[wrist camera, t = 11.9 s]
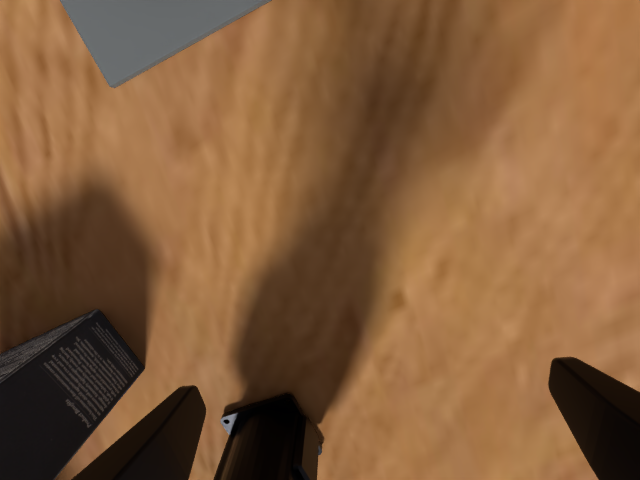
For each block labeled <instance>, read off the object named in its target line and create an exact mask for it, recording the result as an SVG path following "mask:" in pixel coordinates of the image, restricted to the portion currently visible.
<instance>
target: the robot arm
mask: <svg viewBox="0 0 640 480" xmlns="http://www.w3.org/2000/svg"><path fill="white" fill-rule="evenodd" d="M548 385H549V390H550V393H551V395H552V397H553V399H554V400H555V402H556V404H557V406H558V408H559V410H560V412H561V413H562V415H563V417H564V419H565V421H566V423H567V425H568V426H569V428H570V430H571V432H572V434H573V436H574V438H575V439H576V441H577V443H578V445H579V447H580V449H581V450H582V452H583V454H584V456H585V458H586V459H587V461H588V463H589V465H590V466H591V468H592V470H593V471H594V473H595V474H596V476H597V478H598V479H599V480H640V392H638V391H636V390H635V389H633V388H631V387H629V386H627V385H625V384H623V383H622V382H620V381H618V380H616V379H614V378H612V377H610V376H609V375H607V374H605V373H603V372H601V371H599V370H597V369H596V368H594V367H592V366H590V365H588V364H586V363H584V362H583V361H581V360H579V359H577V358H574V357H560V358H554V359H553V360H552V362H551V368H550V375H549V382H548ZM286 400H289V401H286ZM205 415H206V407H205V404H204V401H203V399H202V397H201V395H200V392H199V390H198V388H197V387H196V386H194V385H192V386H182V387H179V388H178V389H177V390H176V391H174V392H173V393H172V394H171V395H170V396H169V397H167V398H166V399H165V400H164V401H163V402H162V403H160V404H159V405H158V406H157V407H156V408H155V409H153V410H152V411H151V412H150V413H149V414H148V415H146V416H145V417H144V418H143V419H142V420H141V421H139V422H138V423H137V424H136V425H135V426H133V427H132V428H131V429H130V430H129V431H128V432H126V433H125V434H124V435H123V436H122V437H121V438H119V439H118V440H117V441H116V442H115V443H114V444H112V445H111V446H110V447H109V448H108V449H107V450H105V451H104V452H103V453H102V454H101V455H100V456H98V457H97V458H96V459H95V460H94V461H93V462H91V463H90V464H89V465H88V466H87V467H86V468H84V469H83V470H82V471H81V472H80V473H79V474H77V475H76V476H75V477H74V478H73V479H72V480H188V479H189V476H190V472H191V469H192V465H193V461H194V458H195V454H196V450H197V446H198V442H199V439H200V435H201V431H202V427H203V423H204V420H205ZM221 424H222V425H223V427H224V428H225V429H226V431H227V432H228V434H229V438H228V440H227V443H226V446H225V449H224V452H223V454H222V457H221V460H220V463H219V466H218V468H217V471H216V474H215V477H214V480H317V467H318V455H320V454H321V453H322V445H321V443H320V441H319V437H318V435H317V433H316V431H315V429H314V428H313V426H312V424H311V422H310V421H309V419H308V417H307V416H306V415H305V414H304V413H303V412H302V410H301V408H300V407H299V405H298V403H297V401H296V400H295V398H294V396H293V395H291V394H284V395H281V396H277V397H274V398H271V399H268V400H265V401H262V402H258V403H255V404H252V405H249V406H246V407H243V408H239V409H236V410H233V411H230V412H227V413H224V414H223V415H222V418H221Z"/></svg>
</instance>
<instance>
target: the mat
mask: <svg viewBox="0 0 640 480" xmlns="http://www.w3.org/2000/svg"><path fill="white" fill-rule="evenodd" d="M60 1H61V3H62V5H63V7H64V8H65V10H66V12H67V14H68V15H69V17H70V19H71V20H72V22H73V24H74V26H75V27H76V29H77V31H78V33H79V34H80V36H81V38H82V40H83V41H84V43H85V45H86V46H87V48H88V50H89V52H90V53H91V55H92V57H93V59H94V60H95V62H96V64H97V65H98V67H99V69H100V71H101V72H102V74H103V76H104V78H105V79H106V81H107V83H108V84H109V86H110V87H113V88H116V87H117V86H119V85H121V84H123V83H125V82H126V81H128V80H130V79H132V78H133V77H135V76H137V75H139V74H141V73H142V72H144V71H146V70H148V69H150V68H151V67H153V66H155V65H157V64H158V63H160V62H162V61H164V60H166V59H167V58H169V57H171V56H173V55H175V54H176V53H178V52H180V51H182V50H184V49H185V48H187V47H189V46H191V45H192V44H194V43H196V42H198V41H200V40H201V39H203V38H205V37H207V36H209V35H210V34H212V33H214V32H216V31H218V30H219V29H221V28H223V27H225V26H226V25H228V24H230V23H232V22H234V21H235V20H237V19H239V18H241V17H243V16H244V15H246V14H248V13H250V12H251V11H253V10H255V9H257V8H259V7H260V6H262V5H264V4H266V3H268V2H269V1H271V0H60Z"/></svg>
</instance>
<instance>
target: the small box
mask: <svg viewBox="0 0 640 480" xmlns="http://www.w3.org/2000/svg"><path fill="white" fill-rule="evenodd" d="M144 369H145V368H144V366H143V365H142V363H141V362H140V361H139V360H138V358H137V357H136V356H135V354H134V353H133V352H132V350H131V349H130V348H129V347H128V345H127V344H126V343H125V342H124V340H123V339H122V338H121V336H120V335H119V334H118V333H117V331H116V330H115V329H114V328H113V326H112V325H111V324H110V323H109V321H108V320H107V319H106V317H105V316H104V315H103V314H102V313H101V311H100V310H98V309H95V310H93V311H91V312H89V313H87V314H84V315H82V316H80V317H78V318H76V319H74V320H71V321H69V322H67V323H65V324H63V325H60V326H58V327H56V328H54V329H52V330H50V331H48V332H46V333H44V334H41V335H39V336H37V337H34V338H32V339H30V340H28V341H26V342H24V343H22V344H19V345H18V346H16V347H13V348H12V349H10V350H8V351H5V352H3V353H1V354H0V480H54V479H55V478H56V477H57V476H58V475H59V473H60V472H61V471H62V470H63V468H64V467H65V466H66V465H67V463H68V462H69V461H70V460H71V458H72V457H73V456H74V455H75V454H76V452H77V451H78V450H79V449H80V447H81V446H82V445H83V444H84V443H85V441H86V440H87V439H88V438H89V436H90V435H91V434H92V433H93V431H94V430H95V429H96V428H97V427H98V425H99V424H100V423H101V422H102V421H103V419H104V418H105V417H106V416H107V414H108V413H109V412H110V411H111V410H112V408H113V407H114V406H115V405H116V403H117V402H118V401H119V400H120V399H121V397H122V396H123V395H124V394H125V393H126V391H127V390H128V389H129V388H130V387H131V385H132V384H133V383H134V382H135V380H136V379H137V378H138V377H139V376H140V374H141V373H142V372H143V371H144Z"/></svg>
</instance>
